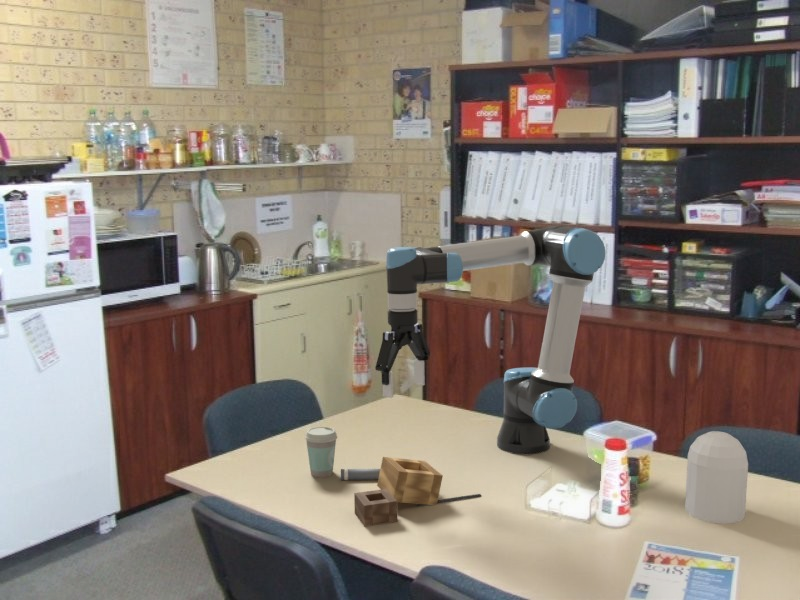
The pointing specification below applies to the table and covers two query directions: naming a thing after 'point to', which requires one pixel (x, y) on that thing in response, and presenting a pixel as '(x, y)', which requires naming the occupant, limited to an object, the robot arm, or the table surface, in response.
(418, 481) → the light wooden square box
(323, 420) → the table surface
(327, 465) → the coffee cup
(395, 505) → the bead dark
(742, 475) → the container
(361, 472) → the gray tube
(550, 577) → the table surface
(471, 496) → the grey long thin rod
